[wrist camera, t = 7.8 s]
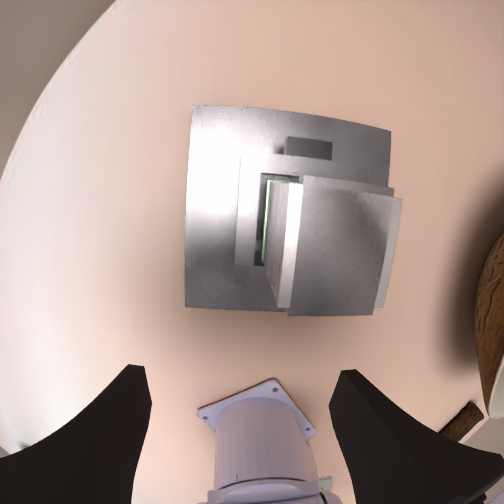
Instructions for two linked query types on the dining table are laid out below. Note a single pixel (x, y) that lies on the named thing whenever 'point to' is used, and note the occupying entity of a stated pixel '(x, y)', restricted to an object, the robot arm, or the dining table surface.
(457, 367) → the dining table surface
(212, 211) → the grey square plate
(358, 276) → the silver metal block
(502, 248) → the bowl
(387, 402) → the robot arm
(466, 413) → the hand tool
